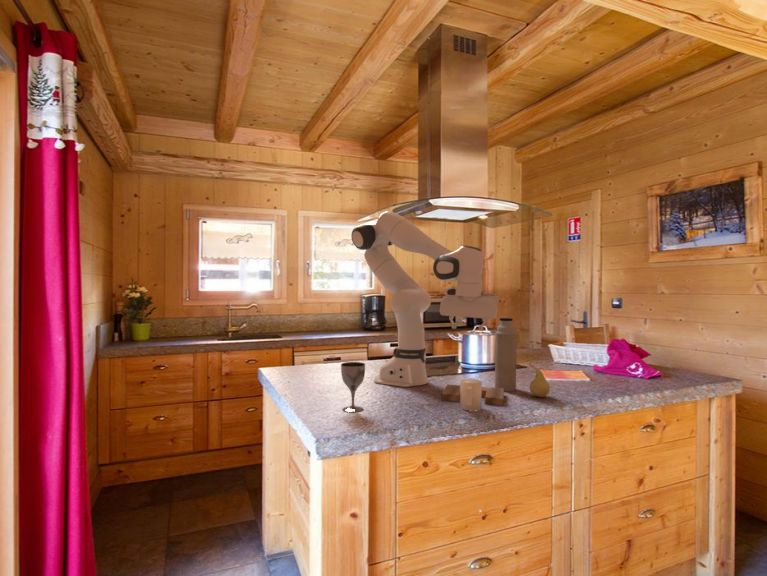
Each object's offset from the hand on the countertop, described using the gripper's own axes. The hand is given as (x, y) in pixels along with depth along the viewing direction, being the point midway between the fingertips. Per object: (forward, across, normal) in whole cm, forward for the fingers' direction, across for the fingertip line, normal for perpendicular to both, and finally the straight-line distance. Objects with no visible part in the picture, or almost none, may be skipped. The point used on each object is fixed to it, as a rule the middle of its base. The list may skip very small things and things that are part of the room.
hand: (467, 329), depth 158 cm
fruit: (+24, -26, -11) cm, 37 cm away
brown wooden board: (+25, -3, -2) cm, 25 cm away
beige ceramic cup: (+25, -4, +12) cm, 28 cm away
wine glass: (+26, +34, +24) cm, 49 cm away
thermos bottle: (+25, -14, -19) cm, 34 cm away
